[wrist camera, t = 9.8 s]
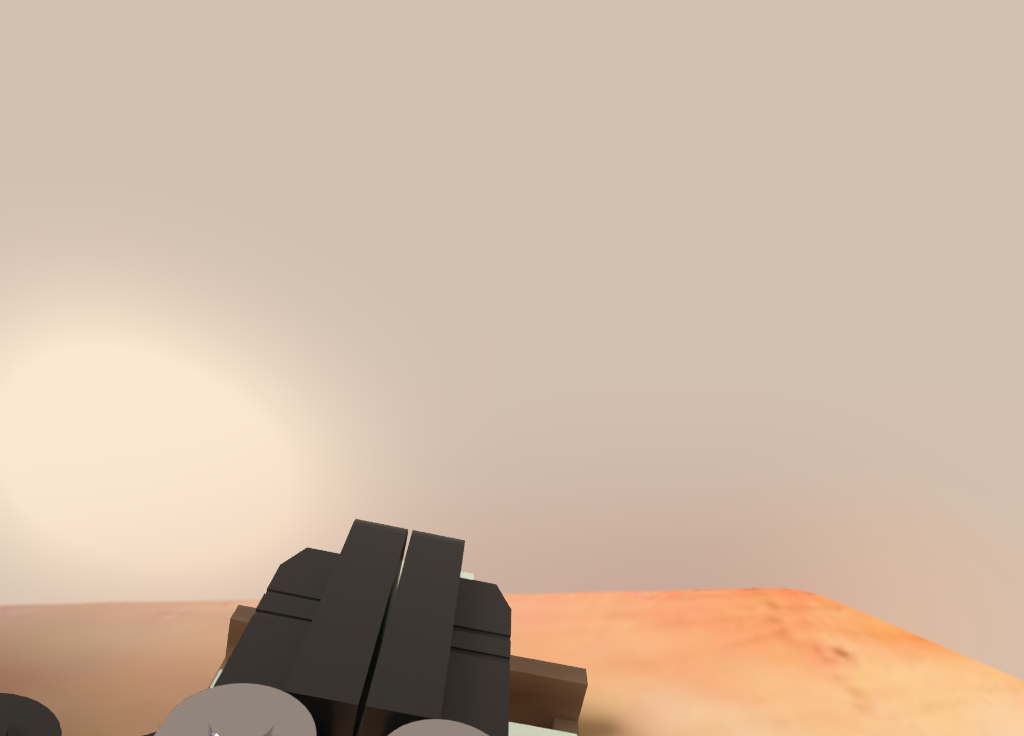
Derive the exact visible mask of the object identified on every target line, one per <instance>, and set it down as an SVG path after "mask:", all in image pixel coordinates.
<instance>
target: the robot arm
mask: <svg viewBox="0 0 1024 736" xmlns="http://www.w3.org/2000/svg"><path fill="white" fill-rule="evenodd" d="M407 535H408V529H404V528H399V527H393V526H389V525H384V524H379V523H373V522H368V521H363V520H358V519H356V520H355V521H354V523H353V525H352V527H351V530H350V532H349V535H348V537H347V539H346V542H345V544H344V546H343V549H342V551H341V553H340V554H338V553H332V552H327V551H322V550H317V549H312V548H306V549H304V550H303V551H301V552H299V553H298V554H296V555H295V556H293V557H292V558H290V559H289V560H287V561H285V562H284V563H282V564H281V565H280V566H279V568H278V570H277V572H276V574H275V575H274V577H273V579H272V581H271V583H270V584H269V586H268V588H267V592H266V594H264V596H263V597H262V599H261V601H260V603H259V605H258V606H257V608H256V612H255V614H253V616H252V617H251V619H250V621H249V623H248V625H247V626H246V628H245V630H244V632H243V634H242V636H241V637H240V639H239V641H238V643H237V645H236V647H235V648H234V650H233V652H232V654H231V656H230V657H229V659H228V661H227V663H226V665H225V667H224V668H223V670H222V672H221V674H220V676H219V678H218V679H217V681H216V683H215V685H214V687H213V688H209V689H206V690H203V691H201V692H199V693H196V694H194V695H193V696H191V697H189V698H187V699H186V700H184V701H183V702H182V703H180V704H179V705H178V706H177V707H176V708H175V709H174V710H173V711H172V712H171V713H170V714H169V715H168V717H167V718H166V719H165V721H164V722H163V724H162V725H161V726H160V728H159V729H158V731H157V732H154V733H151V734H148V735H144V736H508V734H509V689H510V663H509V661H510V644H511V641H510V637H511V608H510V607H509V605H508V603H507V602H506V600H505V598H504V597H503V595H502V593H501V592H500V590H499V588H498V587H497V585H496V584H491V583H486V582H481V581H476V580H471V579H466V578H461V577H460V574H461V566H462V559H463V551H464V543H465V541H464V540H460V539H455V538H450V537H445V536H439V535H435V534H430V533H425V532H419V531H414V530H413V532H412V535H411V538H410V542H409V546H408V550H407V554H406V557H405V561H404V564H403V568H402V572H401V576H400V571H401V566H402V561H403V556H404V551H405V546H406V541H407ZM399 576H400V579H399ZM398 581H399V583H398ZM0 736H62V731H61V727H60V724H59V721H58V720H57V718H56V716H55V715H54V714H53V713H52V712H51V711H50V710H49V709H48V708H47V707H46V706H44V705H42V704H41V703H39V702H37V701H35V700H32V699H30V698H27V697H23V696H19V695H15V694H6V693H0Z"/></svg>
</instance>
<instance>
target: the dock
mask: <svg viewBox="0 0 1024 736" xmlns="http://www.w3.org/2000/svg"><path fill="white" fill-rule="evenodd" d="M255 612H256V608H252V607H247V606H241V605H238V607H237V609H236V610H235V612H234V614H233V615H232V617H231V619H230V626H229V633H228V641H227V649H226V657H225V660H224V661H223V663H222V665H221V667H220V669H222V670H223V668H224V667H225V665H226V663H227V661H228V659H229V657H230V656H231V654H232V652H233V650H234V648H235V647H236V645H237V643H238V641H239V639H240V637H241V636H242V634H243V632H244V630H245V628H246V626H247V625H248V623H249V621H250V619H251V617H252V616H253V614H255ZM509 663H510V689H509V722H513V723H519V724H524V725H530V726H535V727H541V728H546V729H552V730H557V731H563V732H568V733H574V734H577V736H579V731H578V718H579V715H580V711H581V707H582V704H583V700H584V696H585V693H586V689H587V685H588V683H587V675H586V669H583V668H578V667H572V666H567V665H562V664H556V663H551V662H545V661H540V660H534V659H529V658H524V657H518V656H513V655H510V661H509ZM220 669H219V670H220ZM219 670H218V672H219ZM218 672H217V674H218ZM217 674H216V676H217ZM216 676H215V677H216ZM215 677H214V679H215ZM214 679H213V681H214ZM213 681H212V683H213ZM212 683H211V684H212ZM210 686H211V685H210ZM210 686H209V688H210ZM209 688H208V689H209Z"/></svg>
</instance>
